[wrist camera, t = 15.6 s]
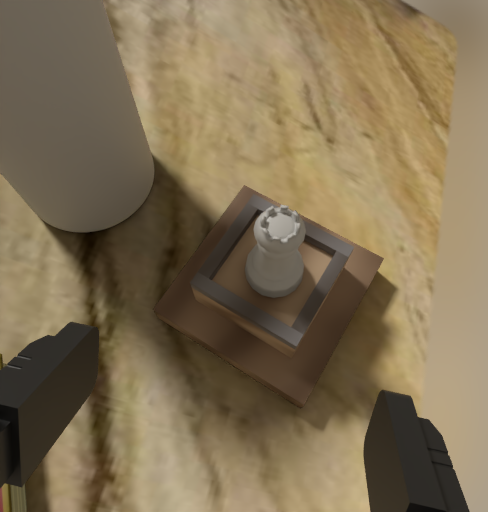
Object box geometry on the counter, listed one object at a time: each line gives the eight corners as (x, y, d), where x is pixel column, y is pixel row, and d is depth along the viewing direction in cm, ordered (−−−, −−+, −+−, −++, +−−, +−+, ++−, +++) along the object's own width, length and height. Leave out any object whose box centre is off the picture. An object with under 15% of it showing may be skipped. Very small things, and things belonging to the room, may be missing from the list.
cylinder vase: (96, 111, 48) (-39, -200, 26) (181, 172, 45) (113, -121, 22) (3, 187, 44) (-255, -98, 22) (88, 261, 41) (-110, 15, 18)
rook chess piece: (311, 258, 35) (328, 206, 28) (289, 309, 33) (301, 267, 26) (258, 237, 36) (261, 181, 28) (235, 285, 34) (231, 239, 27)
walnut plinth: (158, 318, 39) (142, 292, 33) (244, 199, 44) (243, 158, 38) (300, 408, 36) (310, 398, 30) (376, 269, 40) (398, 237, 35)
